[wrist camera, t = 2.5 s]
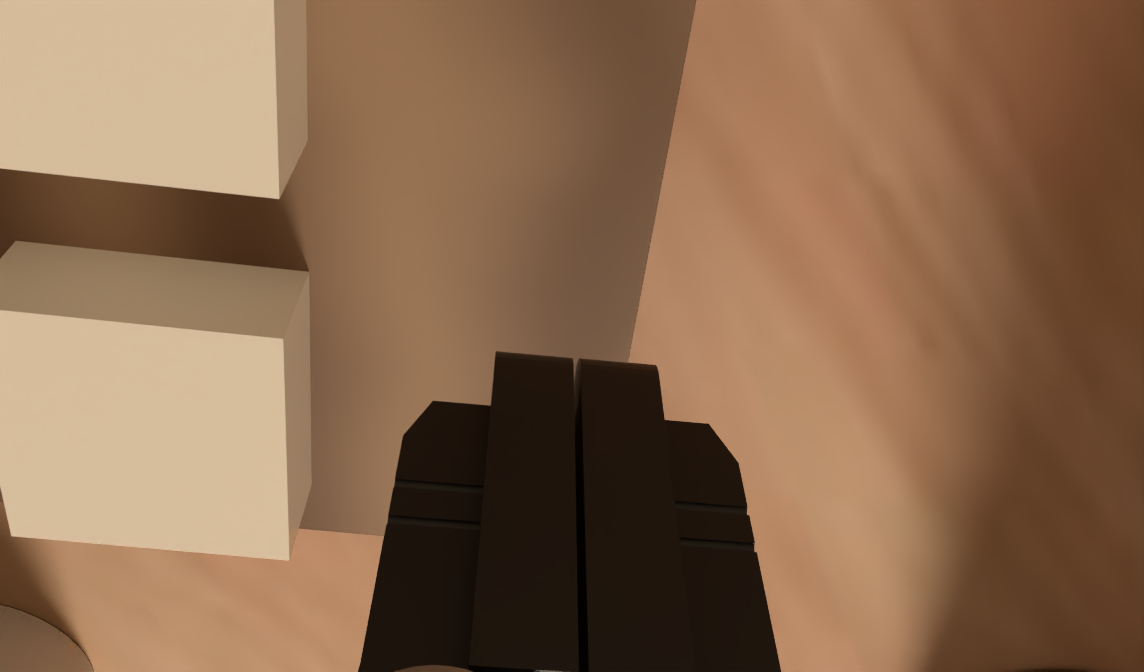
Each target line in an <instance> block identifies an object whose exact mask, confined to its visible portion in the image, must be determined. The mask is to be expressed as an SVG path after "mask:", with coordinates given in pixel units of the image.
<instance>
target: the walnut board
mask: <svg viewBox="0 0 1144 672" xmlns="http://www.w3.org/2000/svg"><path fill="white" fill-rule="evenodd" d="M695 4H696V0H306V25H307V114H308V141H307V143H306V145H305V147H304V149H303V151H302V153H301V155H300V158H299V160H298V162H297V164H296V166H295V168H294V170H293V172H292V174H291V176H290V178H289V180H288V182H287V184H286V186H285V189H284V191H283V193H282V195H281V197H280V199H273V198H264V197H255V196H246V195H237V194H228V193H219V192H210V191H201V190H192V189H183V188H174V187H165V186H156V185H147V184H138V183H129V182H119V181H110V180H101V179H92V178H83V177H74V176H65V175H56V174H47V173H38V172H29V171H20V170H11V169H2V168H0V259H1V257H2V256H3V255H4V254H5V253H6V252H7V250H8V249H9V248H10V247H11V246H12V245H13V244H14V242H15V241H23V242H33V243H42V244H51V245H61V246H70V247H80V248H89V249H99V250H108V251H117V252H127V253H136V254H146V255H155V256H165V257H174V258H183V259H193V260H202V261H212V262H221V263H231V264H240V265H249V266H259V267H268V268H278V269H287V270H297V271H306V272H309V292H310V382H311V471H312V485H311V489H310V492H309V495H308V499H307V502H306V506H305V509H304V513H303V516H302V519H301V523H300V526H299V528H300V529H311V530H322V531H333V532H344V533H355V534H366V535H378V536H384V534H385V529H386V524H387V522H388V513H389V507H390V502H391V497H392V491H393V487H394V484H395V475H396V470H397V465H398V459H399V454H400V449H401V443H402V438H403V435H404V434H405V433H406V431H407V430H408V429H409V428H410V427H411V426H412V424H413V423H414V422H415V421H416V420H417V419H418V417H419V416H420V415H421V414H422V413H423V412H424V410H425V409H426V408H427V407H428V406H429V405H430V404H431V402H432V401H444V402H455V403H467V404H479V405H490V404H491V394H492V383H493V372H494V362H495V352H496V351H499V352H511V353H522V354H533V355H544V356H555V357H566V358H573V363H574V375H575V370H576V365H577V361H578V359H579V358H581V359H592V360H603V361H614V362H626V363H628V359H629V353H630V348H631V343H632V338H633V332H634V327H635V322H636V316H637V311H638V306H639V301H640V295H641V290H642V285H643V279H644V274H645V269H646V263H647V258H648V253H649V248H650V242H651V237H652V232H653V226H654V221H655V216H656V211H657V205H658V200H659V195H660V189H661V184H662V179H663V174H664V168H665V163H666V158H667V152H668V147H669V142H670V137H671V131H672V126H673V121H674V115H675V110H676V105H677V100H678V94H679V89H680V84H681V78H682V73H683V68H684V63H685V57H686V52H687V47H688V41H689V36H690V31H691V26H692V20H693V15H694V10H695ZM0 502H4V501H3V497H2V492H1V488H0Z"/></svg>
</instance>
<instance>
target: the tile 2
mask: <svg viewBox="0 0 1144 672" xmlns="http://www.w3.org/2000/svg"><path fill="white" fill-rule="evenodd" d="M311 485H312V471H311V382H310V292H309V272H306V271H297V270H287V269H278V268H268V267H259V266H249V265H240V264H231V263H221V262H212V261H202V260H193V259H183V258H174V257H165V256H155V255H146V254H136V253H127V252H117V251H108V250H99V249H89V248H80V247H70V246H61V245H51V244H42V243H33V242H23V241H15V242H14V244H13V245H12V246H11V247H10V248H9V249H8V250H7V252H6V253H5V254H4V255H3V256H2V257H1V259H0V488H1V492H2V497H3V501H4V505H5V510H6V514H7V519H8V523H9V528H10V532H11V536H15V537H26V538H38V539H49V540H61V541H72V542H83V543H95V544H106V545H118V546H129V547H140V548H152V549H163V550H175V551H186V552H197V553H209V554H220V555H232V556H243V557H255V558H266V559H277V560H290V557H291V554H292V550H293V547H294V543H295V540H296V536H297V533H298V530H299V526H300V523H301V519H302V516H303V513H304V509H305V506H306V502H307V499H308V495H309V492H310V489H311Z"/></svg>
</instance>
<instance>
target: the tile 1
mask: <svg viewBox="0 0 1144 672" xmlns="http://www.w3.org/2000/svg"><path fill="white" fill-rule="evenodd" d="M307 141H308V114H307V25H306V0H0V168H2V169H11V170H20V171H29V172H38V173H47V174H56V175H65V176H74V177H83V178H92V179H101V180H110V181H119V182H129V183H138V184H147V185H156V186H165V187H174V188H183V189H192V190H201V191H210V192H219V193H228V194H237V195H246V196H255V197H264V198H273V199H280V197H281V195H282V193H283V191H284V189H285V186H286V184H287V182H288V180H289V178H290V176H291V174H292V172H293V170H294V168H295V166H296V164H297V162H298V160H299V158H300V155H301V153H302V151H303V149H304V147H305V145H306V143H307Z"/></svg>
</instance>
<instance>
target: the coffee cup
mask: <svg viewBox="0 0 1144 672" xmlns="http://www.w3.org/2000/svg"><path fill="white" fill-rule="evenodd" d="M0 672H94V671H93V668H92V666H91V664H90V662H89V660H88V658H87V657H86V655H85V654H84V652H83V651H82V650H81V649H80V648H79V647H78V645H77V644H76V643H75V642H73V641H72V640H71V639H70V638H69V637H68V636H67V635H65V634H64V633H63V632H61V631H60V630H58V629H57V628H55V627H54V626H52V625H50V624H49V623H47V622H45V621H43V620H41V619H39V618H37V617H35V616H33V615H30V614H28V613H25V612H23V611H20V610H17V609H14V608H11V607H7V606H3V605H0Z"/></svg>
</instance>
